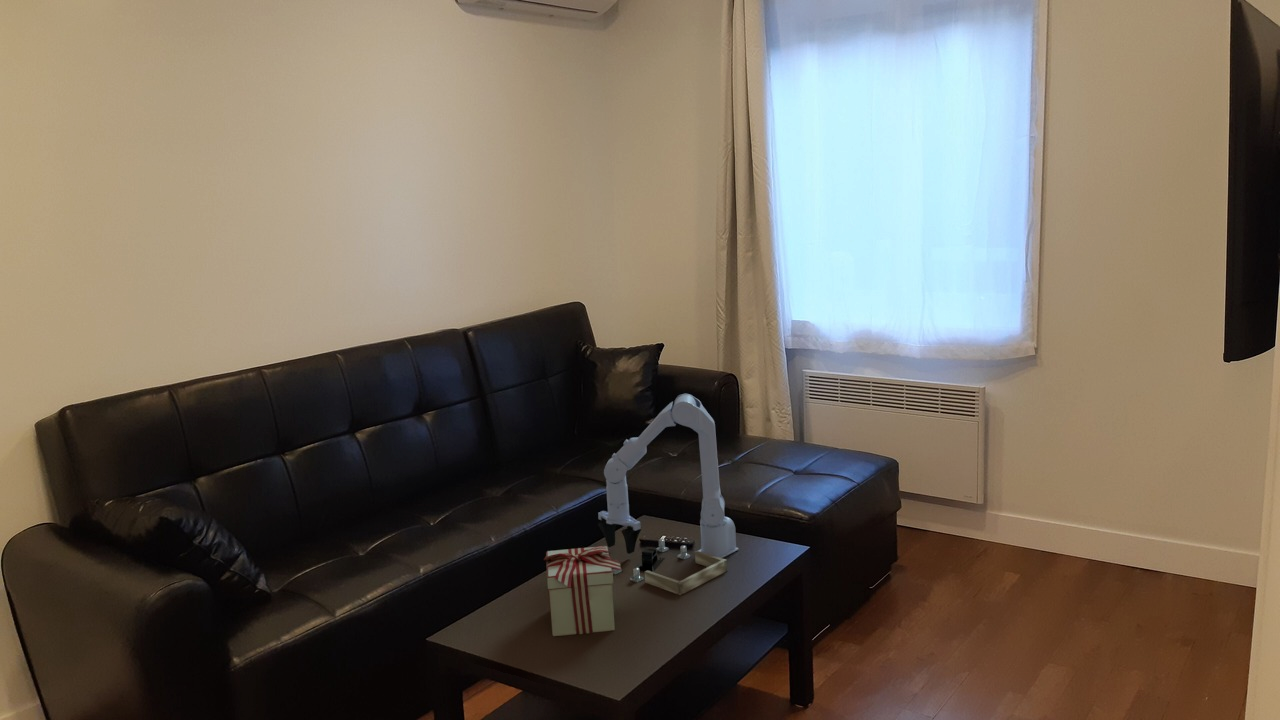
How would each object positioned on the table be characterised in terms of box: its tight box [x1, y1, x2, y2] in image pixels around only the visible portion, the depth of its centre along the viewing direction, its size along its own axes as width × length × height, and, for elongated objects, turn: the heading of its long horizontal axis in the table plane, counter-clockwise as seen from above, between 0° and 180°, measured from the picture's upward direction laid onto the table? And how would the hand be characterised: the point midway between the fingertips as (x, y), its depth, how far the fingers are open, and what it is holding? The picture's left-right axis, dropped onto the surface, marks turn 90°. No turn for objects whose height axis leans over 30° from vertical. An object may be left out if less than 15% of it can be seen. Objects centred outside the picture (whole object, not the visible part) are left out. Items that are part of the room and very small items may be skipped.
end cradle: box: [644, 550, 728, 596], centre depth 241 cm, size 18×12×3 cm, turn 135°
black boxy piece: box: [636, 546, 666, 573], centre depth 251 cm, size 12×7×5 cm, turn 159°
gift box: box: [543, 545, 622, 637], centre depth 219 cm, size 17×18×17 cm
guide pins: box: [612, 538, 691, 583], centre depth 250 cm, size 20×10×3 cm, turn 135°
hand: (620, 549), depth 258 cm, fingers open, 7 cm apart
